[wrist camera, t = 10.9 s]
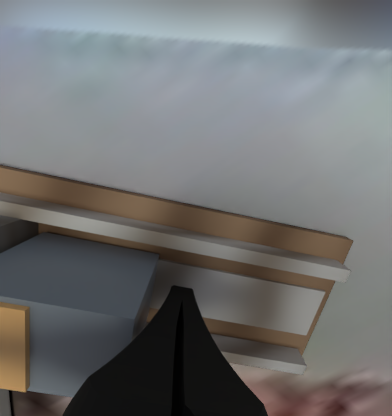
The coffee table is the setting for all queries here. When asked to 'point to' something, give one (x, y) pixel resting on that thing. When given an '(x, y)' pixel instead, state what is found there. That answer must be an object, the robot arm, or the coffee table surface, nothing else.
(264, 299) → the din rail board
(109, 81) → the coffee table surface
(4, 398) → the electrical switch
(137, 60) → the coffee table surface
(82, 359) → the block
